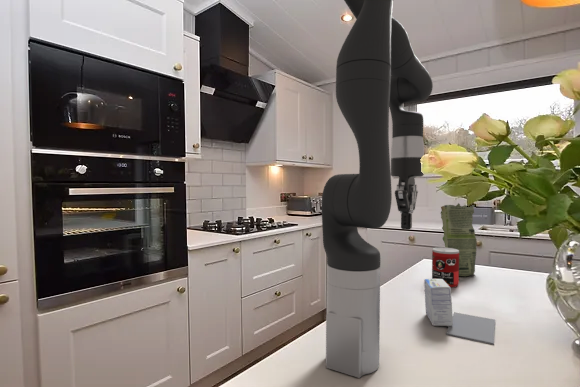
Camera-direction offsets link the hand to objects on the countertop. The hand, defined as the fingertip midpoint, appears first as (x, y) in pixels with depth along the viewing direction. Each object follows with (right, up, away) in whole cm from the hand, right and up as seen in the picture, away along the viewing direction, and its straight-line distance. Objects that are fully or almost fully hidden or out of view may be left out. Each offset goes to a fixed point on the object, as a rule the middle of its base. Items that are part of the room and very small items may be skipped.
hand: (406, 228), depth 83 cm
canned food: (+21, -20, +26) cm, 39 cm away
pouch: (+32, -20, +40) cm, 55 cm away
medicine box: (+6, -21, -3) cm, 22 cm away
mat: (+12, -21, -7) cm, 25 cm away
